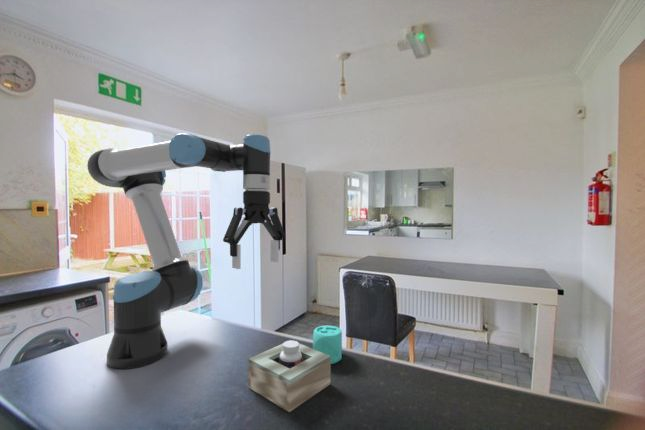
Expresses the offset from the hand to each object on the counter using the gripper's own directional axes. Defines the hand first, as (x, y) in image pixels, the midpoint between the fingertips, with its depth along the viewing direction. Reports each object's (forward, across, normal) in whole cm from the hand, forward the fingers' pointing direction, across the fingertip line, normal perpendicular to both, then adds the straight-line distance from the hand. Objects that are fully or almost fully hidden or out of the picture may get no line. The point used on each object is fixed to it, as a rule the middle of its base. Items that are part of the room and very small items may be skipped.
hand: (256, 264), depth 90 cm
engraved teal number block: (+27, +13, -16) cm, 34 cm away
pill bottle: (+26, -4, -18) cm, 32 cm away
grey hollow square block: (+27, -4, -18) cm, 32 cm away
